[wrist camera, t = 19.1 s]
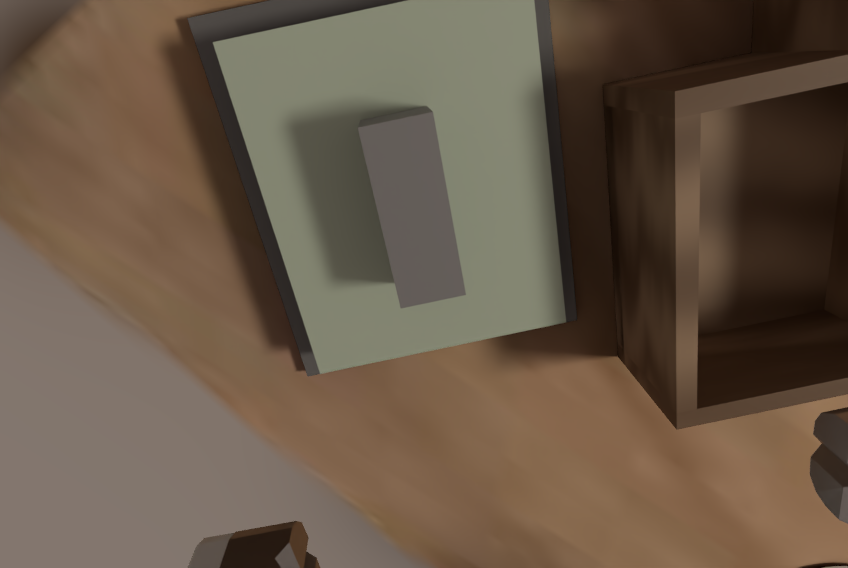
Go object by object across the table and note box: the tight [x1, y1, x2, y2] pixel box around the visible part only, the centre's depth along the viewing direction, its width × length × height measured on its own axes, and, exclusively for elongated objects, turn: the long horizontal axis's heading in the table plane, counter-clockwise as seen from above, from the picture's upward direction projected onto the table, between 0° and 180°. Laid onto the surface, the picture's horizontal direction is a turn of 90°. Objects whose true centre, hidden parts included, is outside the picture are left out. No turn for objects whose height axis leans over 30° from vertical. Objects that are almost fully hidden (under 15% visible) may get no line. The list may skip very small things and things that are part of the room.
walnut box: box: [603, 0, 848, 429], centre depth 24 cm, size 22×14×9 cm, turn 11°
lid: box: [213, 0, 566, 374], centre depth 24 cm, size 16×13×5 cm
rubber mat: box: [187, 0, 577, 376], centre depth 27 cm, size 19×16×1 cm
